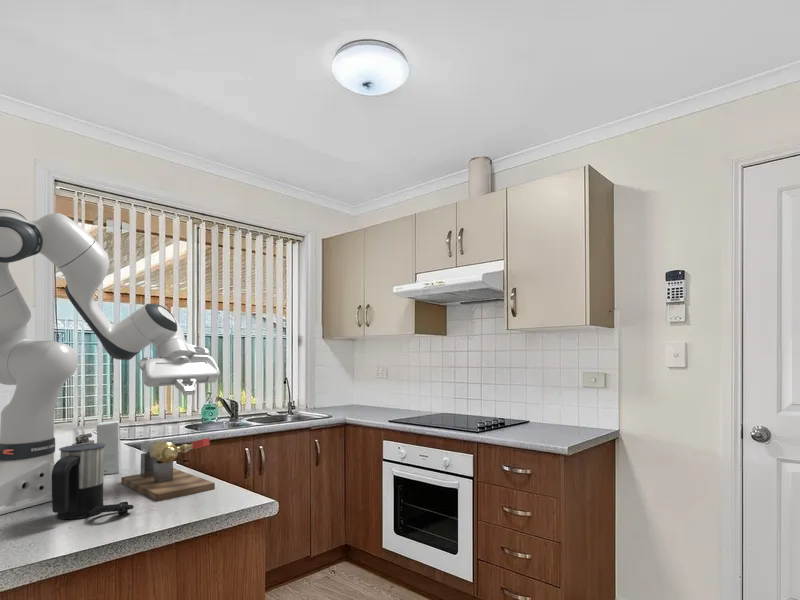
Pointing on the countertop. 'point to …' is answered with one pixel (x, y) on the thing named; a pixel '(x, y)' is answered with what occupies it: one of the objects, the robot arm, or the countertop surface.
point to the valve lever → (195, 445)
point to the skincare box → (110, 445)
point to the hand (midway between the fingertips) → (189, 393)
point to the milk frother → (81, 483)
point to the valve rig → (164, 474)
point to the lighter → (83, 439)
